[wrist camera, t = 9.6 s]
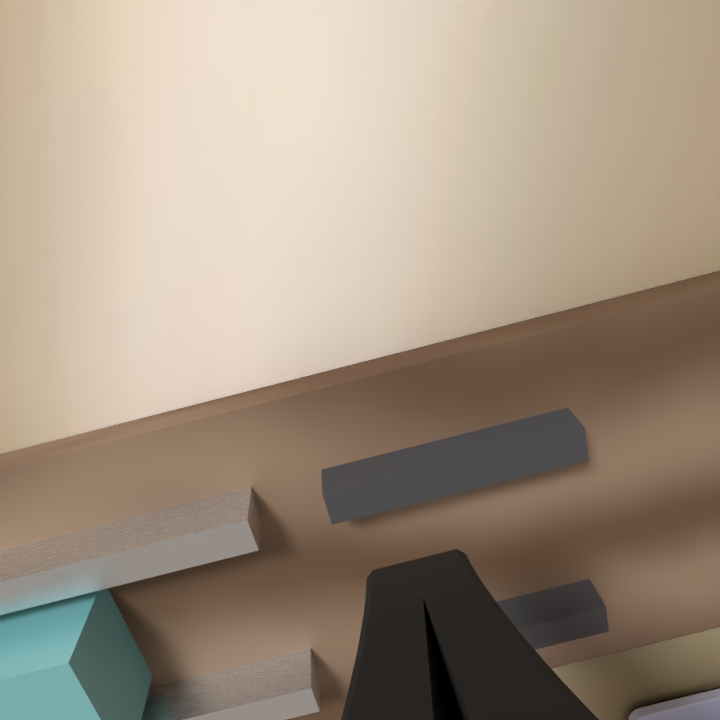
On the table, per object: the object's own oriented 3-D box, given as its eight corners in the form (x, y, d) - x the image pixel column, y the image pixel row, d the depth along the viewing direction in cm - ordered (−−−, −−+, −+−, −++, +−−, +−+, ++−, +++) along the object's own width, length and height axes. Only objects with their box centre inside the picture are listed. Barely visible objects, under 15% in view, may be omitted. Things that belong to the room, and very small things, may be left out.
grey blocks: (592, 602, 21) (609, 631, 20) (379, 655, 21) (383, 686, 20) (567, 407, 18) (585, 428, 17) (321, 469, 18) (322, 494, 17)
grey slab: (318, 670, 21) (319, 711, 19) (-11, 751, 21) (-33, 797, 20) (251, 487, 18) (247, 520, 17) (-128, 582, 18) (-163, 623, 17)
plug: (152, 675, 20) (128, 767, 18) (-1, 714, 20) (-48, 811, 18) (102, 579, 19) (68, 663, 16) (-63, 620, 19) (-126, 711, 16)
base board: (742, 594, 22) (761, 616, 21) (-62, 792, 23) (-77, 822, 22) (740, 265, 18) (764, 275, 17) (-270, 523, 18) (-300, 546, 17)
